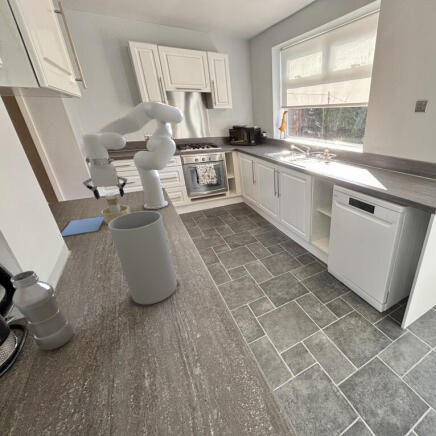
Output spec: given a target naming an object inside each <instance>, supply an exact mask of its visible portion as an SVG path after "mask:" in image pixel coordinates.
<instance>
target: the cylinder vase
mask: <svg viewBox="0 0 436 436" xmlns="http://www.w3.org/2000/svg"><path fill="white" fill-rule="evenodd" d="M164 225H165V224H164V221H163V216H162V214H161V213H160V212H158V211H155V210H141V211H134V212H131V213H128V214H125V215H121V216H119V217H117V218H115V219H113V220H111V221H110V222H109V223H108V224H107V227H108V230H109V233H110V237H111V239H112V242H113V245H114V248H115V251H116V254H117V257H118V260H119V263H120V266H121V269H122V273H123V275H124V277H125V278H124V279H125V280H126V283H127V286H128V289H129V292H130V295H131V298H132V300H133V301H134V302H135V303H136V304H139V305H154V304H157V303H160V302H162V301H164V300H166V299H167V298H169V297H170V296H171V295H172V294H173V293H174V292H175V291H176V290H177V286H178V282H177V279H176V273H175V270H174V269H175V268H174V265H173V260H172V256H171V251H170V247H169V244H168V239H167V235H166V230H165V226H164Z"/></svg>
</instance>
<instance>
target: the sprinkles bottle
mask: <svg viewBox="0 0 436 436" xmlns="http://www.w3.org/2000/svg"><path fill="white" fill-rule="evenodd" d="M104 196H105V199H106V201H107V205H108V208H110V211H111V214H112V213H118V212H122V211H121V208H120V205H121V204H120V203H119V199H118V195H117V193H116V192H111V193H107V194H105V195H104Z"/></svg>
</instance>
